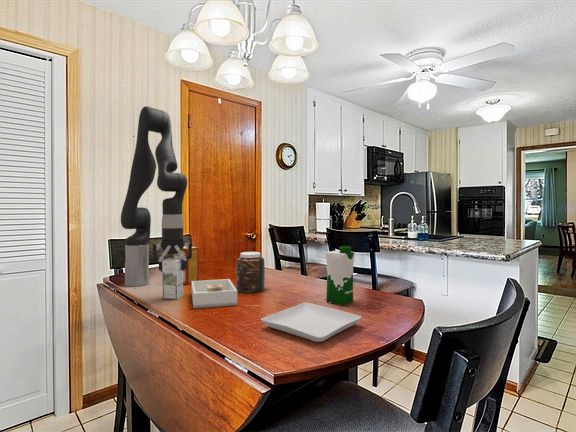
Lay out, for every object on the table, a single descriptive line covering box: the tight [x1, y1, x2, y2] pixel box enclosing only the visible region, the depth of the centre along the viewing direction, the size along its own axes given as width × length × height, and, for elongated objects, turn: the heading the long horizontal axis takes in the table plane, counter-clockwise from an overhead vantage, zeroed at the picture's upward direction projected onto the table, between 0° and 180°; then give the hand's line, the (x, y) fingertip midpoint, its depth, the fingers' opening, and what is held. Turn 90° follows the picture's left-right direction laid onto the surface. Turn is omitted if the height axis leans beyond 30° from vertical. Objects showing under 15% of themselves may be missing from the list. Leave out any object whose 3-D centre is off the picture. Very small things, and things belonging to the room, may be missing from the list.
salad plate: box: [260, 301, 362, 343], centre depth 98 cm, size 21×21×3 cm
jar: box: [235, 251, 266, 294], centre depth 141 cm, size 12×12×15 cm
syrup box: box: [161, 257, 184, 300], centre depth 128 cm, size 6×6×14 cm
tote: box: [190, 278, 238, 309], centre depth 127 cm, size 15×20×5 cm
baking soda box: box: [172, 246, 200, 286], centre depth 154 cm, size 10×6×16 cm
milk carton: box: [325, 245, 356, 306], centre depth 124 cm, size 9×9×20 cm
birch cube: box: [207, 284, 223, 292], centre depth 122 cm, size 5×5×5 cm
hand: (172, 271), depth 128 cm, fingers closed on syrup box, 7 cm apart
